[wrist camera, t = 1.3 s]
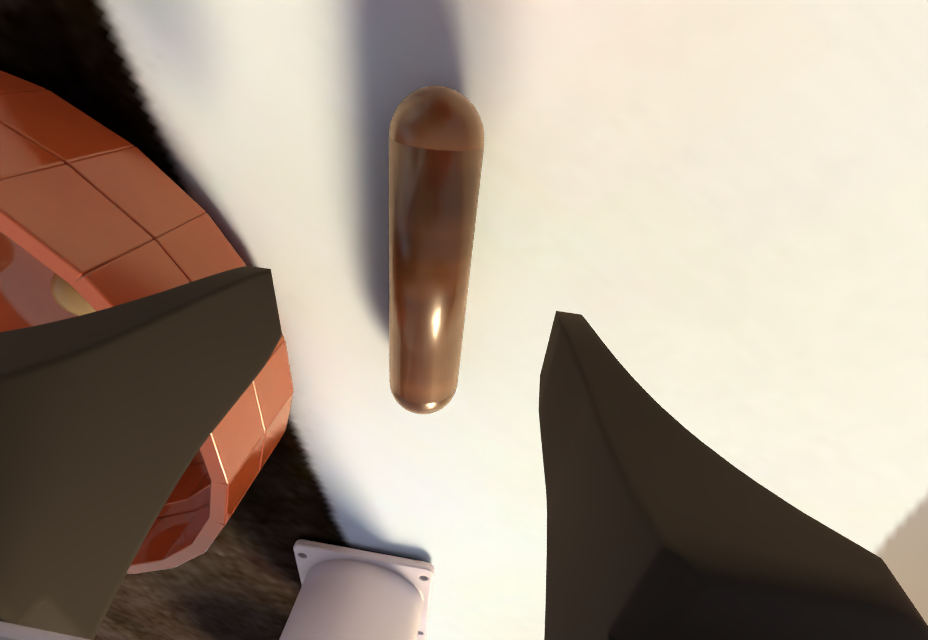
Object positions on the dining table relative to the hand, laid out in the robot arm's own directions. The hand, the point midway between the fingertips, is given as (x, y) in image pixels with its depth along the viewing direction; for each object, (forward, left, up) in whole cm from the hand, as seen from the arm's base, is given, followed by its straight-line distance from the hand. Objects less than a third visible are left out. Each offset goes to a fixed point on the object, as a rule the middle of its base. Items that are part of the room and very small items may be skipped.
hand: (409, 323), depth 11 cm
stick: (0, 0, -4) cm, 4 cm away
